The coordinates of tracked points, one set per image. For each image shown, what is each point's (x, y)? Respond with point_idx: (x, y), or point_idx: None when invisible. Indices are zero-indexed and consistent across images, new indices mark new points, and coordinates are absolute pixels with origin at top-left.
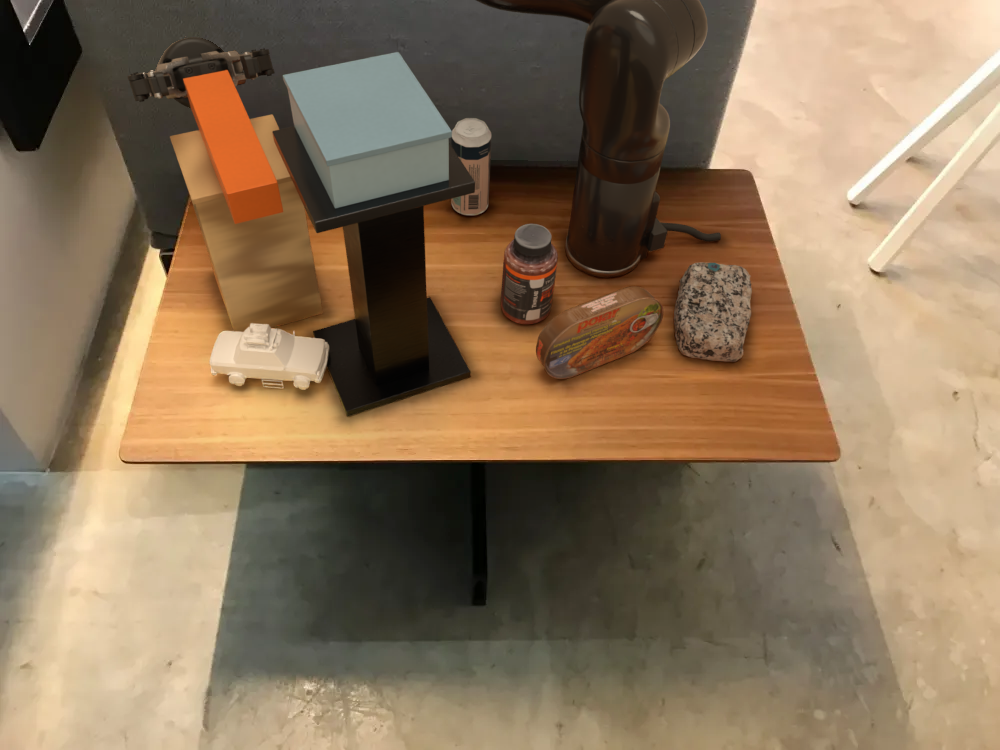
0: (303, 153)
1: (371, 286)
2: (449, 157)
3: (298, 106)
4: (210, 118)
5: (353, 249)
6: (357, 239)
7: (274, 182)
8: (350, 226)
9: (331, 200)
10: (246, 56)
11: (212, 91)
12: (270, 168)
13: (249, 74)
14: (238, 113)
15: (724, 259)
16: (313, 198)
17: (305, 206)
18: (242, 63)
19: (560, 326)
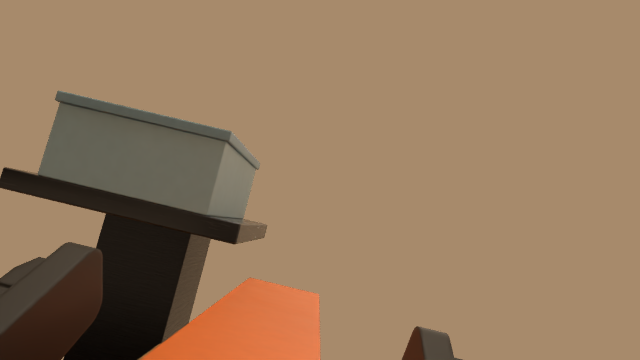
0: (227, 218)
1: None
2: None
3: (245, 147)
4: (290, 337)
5: (179, 324)
6: (197, 281)
7: (253, 278)
8: (189, 286)
9: (242, 216)
10: (87, 247)
11: None
12: (245, 282)
13: (101, 297)
14: (220, 319)
15: None
16: (254, 222)
17: (261, 231)
18: (13, 354)
19: None
